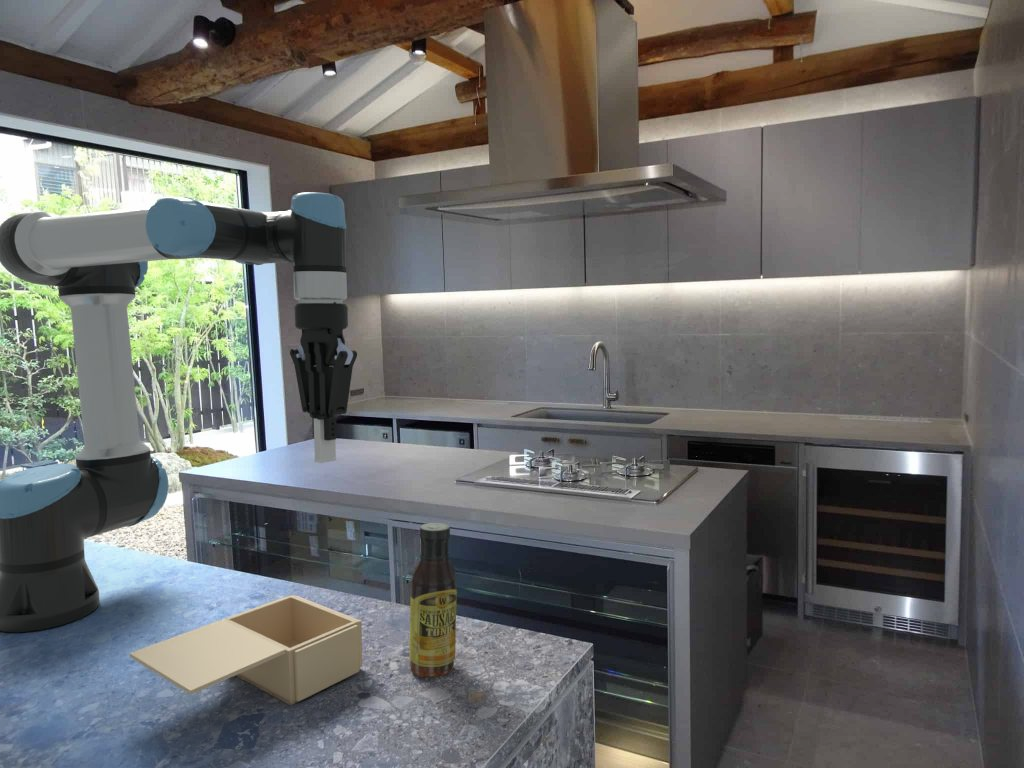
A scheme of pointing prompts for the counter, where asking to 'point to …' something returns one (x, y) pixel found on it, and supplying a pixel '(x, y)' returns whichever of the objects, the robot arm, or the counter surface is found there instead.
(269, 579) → the counter surface
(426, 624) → the sauce bottle
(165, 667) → the flap
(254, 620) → the wooden box
